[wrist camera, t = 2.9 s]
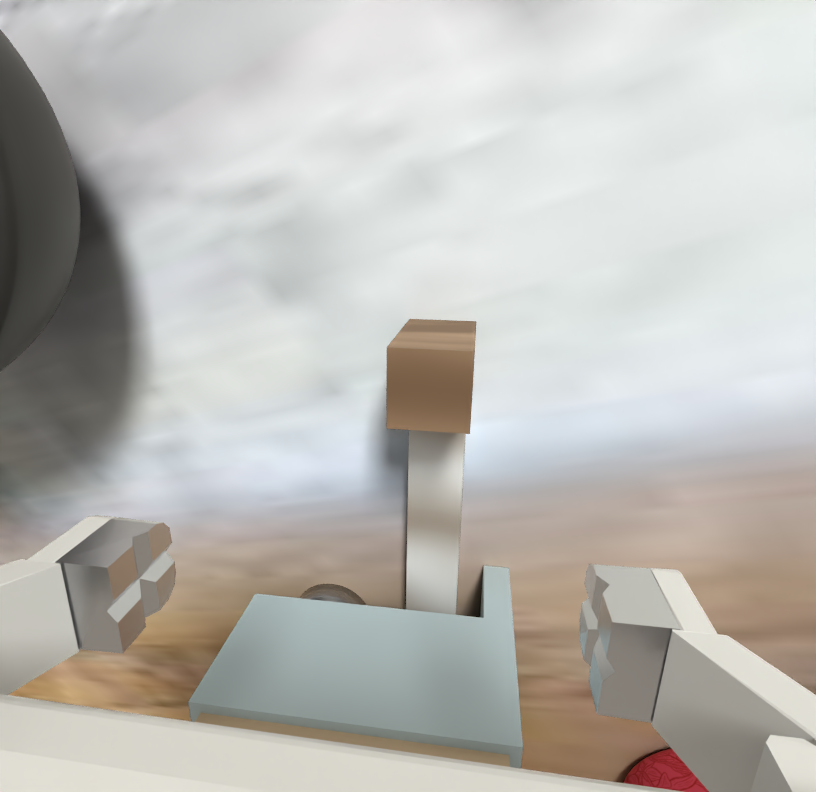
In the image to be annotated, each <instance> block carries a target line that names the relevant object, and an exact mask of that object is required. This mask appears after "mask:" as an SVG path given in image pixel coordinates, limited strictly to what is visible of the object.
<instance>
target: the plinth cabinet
mask: <svg viewBox="0 0 816 792" xmlns="http://www.w3.org/2000/svg"><path fill="white" fill-rule="evenodd" d="M188 704H189V711H190V717H191V721H192V722H199V723H206V724H213V725H220V726H227V727H234V728H241V729H248V730H255V731H262V732H269V733H277V734H284V735H291V736H298V737H305V738H312V739H319V740H326V741H333V742H340V743H347V744H354V745H361V746H368V747H375V748H382V749H389V750H396V751H403V752H410V753H417V754H423V755H430V756H437V757H444V758H451V759H458V760H465V761H472V762H479V763H486V764H493V765H500V766H507V767H513V768H520V769H521V761H522V752H523V741H522V728H521V716H520V703H519V690H518V678H517V665H516V652H515V640H514V627H513V614H512V602H511V589H510V576H509V568H505V567H494V566H484V567H483V582H482V596H481V610H480V617H471V616H462V615H452V614H443V613H433V612H424V611H415V610H405V609H396V608H386V607H377V606H368V605H358V604H349V603H339V602H330V601H321V600H311V599H302V598H292V597H283V596H274V595H264V594H255V595H254V597H253V598H252V600H251V602H250V603H249V605H248V606H247V608H246V610H245V611H244V613H243V615H242V616H241V618H240V619H239V621H238V623H237V624H236V626H235V627H234V629H233V631H232V632H231V634H230V635H229V637H228V639H227V640H226V642H225V644H224V645H223V647H222V648H221V650H220V652H219V653H218V655H217V656H216V658H215V660H214V661H213V663H212V664H211V666H210V668H209V669H208V671H207V673H206V674H205V676H204V677H203V679H202V681H201V682H200V684H199V685H198V687H197V689H196V690H195V692H194V693H193V695H192V697H191V698H190V700H189V702H188Z"/></svg>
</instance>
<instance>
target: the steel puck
mask: <svg viewBox="0 0 816 792" xmlns="http://www.w3.org/2000/svg"><path fill="white" fill-rule="evenodd" d="M300 598H302V599H311V600H321V601H330V602H339V603H349V604H358V605H366V604H365V603H364V601H363V600H362V599H361V598H360V597H359V596H358V595H357V594H356V593H354V592H353V591H351V590H349V589H347V588H345V587H343V586H339V585H334V584H321V585H317V586H314V587H311V588H309V589H308V590H307V591H305V592H304V593H303V594H302V596H301V597H300Z"/></svg>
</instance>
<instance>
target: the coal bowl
mask: <svg viewBox="0 0 816 792" xmlns="http://www.w3.org/2000/svg"><path fill="white" fill-rule="evenodd" d="M79 237H80V200H79V190H78V185H77V179H76V173H75V170H74V166H73V162H72V158H71V155H70V152H69V149H68V146H67V143H66V140H65V137H64V135H63V132H62V129H61V127H60V125H59V123H58V120H57V118H56V116H55V113H54V111H53V109H52V107H51V105H50V103H49V101H48V99H47V98H46V96H45V94H44V92H43V90H42V88H41V87H40V85H39V84H38V82H37V80H36V79H35V77H34V76H33V74H32V72H31V71H30V69H29V68H28V66H27V65H26V63H25V62H24V60H23V59H22V57H21V56H20V54H19V53H18V52H17V50H16V49H15V48H14V46H13V45H12V43H11V42H10V41H9V39H8V38H7V37H6V36H5V35H4V33H3V32H2V31H1V30H0V371H1V370H3V369H4V368H5V367H6V366H8V365H9V364H10V363H11V362H12V361H13V360H15V359H16V358H17V357H18V356H19V355H20V354H21V353H22V352H24V351H25V349H26V348H27V347H28V346H29V345H30V344H31V343H32V342H33V341H34V340H35V339H36V337H37V336H38V335H39V334H40V332H41V331H42V330H43V329H44V327H45V326H46V325H47V323H48V322H49V320H50V319H51V318H52V316H53V314H54V313H55V311H56V309H57V307H58V305H59V304H60V302H61V300H62V298H63V296H64V294H65V292H66V289H67V287H68V284H69V282H70V279H71V276H72V273H73V269H74V266H75V262H76V256H77V251H78V245H79Z"/></svg>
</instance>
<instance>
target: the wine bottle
mask: <svg viewBox="0 0 816 792" xmlns="http://www.w3.org/2000/svg"><path fill="white" fill-rule="evenodd" d="M623 783H626V784H634V785H641V786H648V787H655V788H662V789H669V790H676V791H683V792H709V791H708V790H707V789H706V788H705V786H704V785H703V784H702V783H701V782H700V781H699V779H698V778H697V777H696V776H695V775H694V774H693V773H692V771H691V770H690V769H689V768H688V767H687V766H686V764H685V763H684V762H683V761H682V760H681V759H680V758H679V756H678V755H677V754H676V753H675V752H674V751H673V750H672V749H667V750H663V751H660V752H658V753H655V754H653V755H651V756H648V757H647V758H645V759H643V760H642V761H640V762H639V763H638V764H637V765H635V766H634V767H633V768H632V769H631V770H630V772H629V773H628V775H627V776H626V778H625V780H624V782H623Z"/></svg>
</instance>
